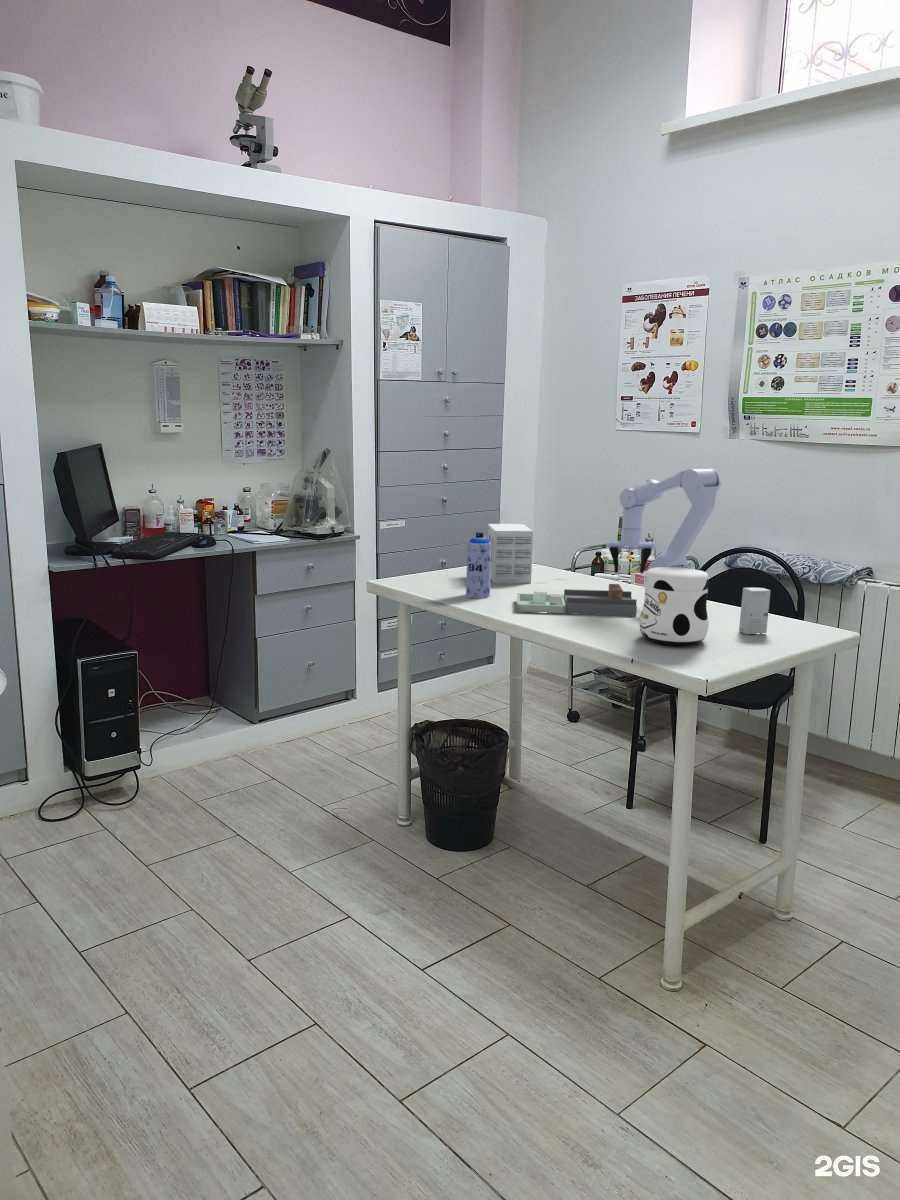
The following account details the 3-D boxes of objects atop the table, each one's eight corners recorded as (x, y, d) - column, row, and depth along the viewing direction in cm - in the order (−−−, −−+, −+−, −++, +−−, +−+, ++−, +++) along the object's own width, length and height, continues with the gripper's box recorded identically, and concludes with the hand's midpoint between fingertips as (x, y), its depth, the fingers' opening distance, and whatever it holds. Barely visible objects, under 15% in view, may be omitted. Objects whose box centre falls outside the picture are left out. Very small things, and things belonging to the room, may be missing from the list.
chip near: (559, 594, 268) (549, 593, 268) (560, 597, 264) (550, 596, 264) (559, 607, 268) (549, 607, 268) (560, 610, 264) (549, 610, 265)
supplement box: (485, 574, 322) (487, 523, 318) (522, 574, 323) (524, 523, 319) (493, 583, 305) (494, 530, 301) (532, 583, 306) (534, 530, 303)
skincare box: (746, 635, 242) (750, 590, 239) (737, 631, 246) (741, 587, 244) (767, 634, 243) (771, 590, 241) (758, 630, 248) (762, 586, 245)
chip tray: (562, 602, 278) (563, 594, 277) (565, 614, 262) (566, 606, 262) (516, 600, 279) (517, 593, 278) (517, 612, 263) (517, 604, 262)
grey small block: (534, 591, 276) (533, 601, 276) (532, 594, 272) (532, 604, 272) (547, 592, 275) (546, 602, 276) (546, 594, 271) (545, 604, 272)
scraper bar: (618, 597, 272) (619, 584, 271) (621, 603, 264) (622, 590, 263) (608, 597, 272) (608, 583, 272) (611, 603, 264) (612, 589, 263)
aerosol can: (461, 597, 283) (463, 533, 278) (470, 592, 290) (472, 530, 286) (485, 599, 280) (487, 535, 276) (493, 594, 287) (495, 531, 283)
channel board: (629, 605, 276) (630, 590, 275) (636, 616, 261) (637, 600, 261) (563, 602, 277) (564, 588, 276) (566, 613, 263) (567, 598, 262)
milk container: (625, 639, 235) (629, 571, 231) (661, 629, 247) (666, 563, 243) (683, 653, 223) (689, 581, 219) (719, 641, 235) (725, 573, 231)
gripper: (653, 527, 278) (650, 570, 281) (606, 525, 279) (603, 569, 282) (657, 530, 271) (654, 574, 274) (608, 528, 272) (605, 573, 275)
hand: (628, 572), depth 278 cm, fingers open, 7 cm apart
